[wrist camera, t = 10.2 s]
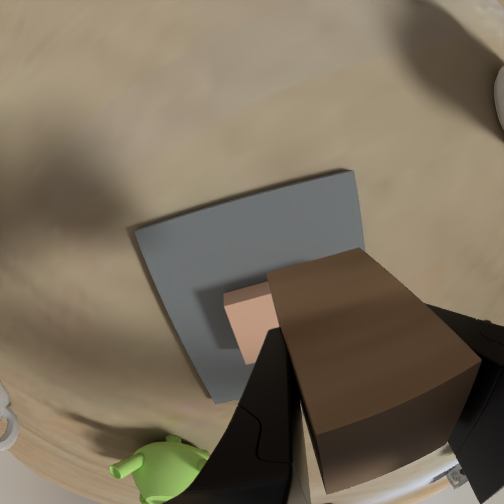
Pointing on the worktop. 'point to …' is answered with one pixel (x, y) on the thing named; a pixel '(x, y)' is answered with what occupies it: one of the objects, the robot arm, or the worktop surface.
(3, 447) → the cup
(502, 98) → the mug
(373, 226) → the worktop surface
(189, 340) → the mat
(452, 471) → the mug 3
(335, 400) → the walnut block
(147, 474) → the teapot
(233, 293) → the tile
